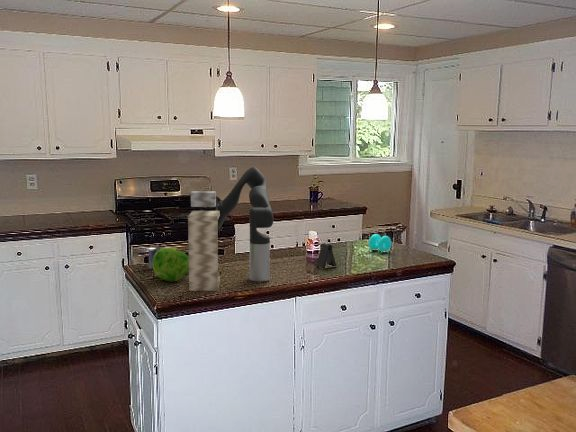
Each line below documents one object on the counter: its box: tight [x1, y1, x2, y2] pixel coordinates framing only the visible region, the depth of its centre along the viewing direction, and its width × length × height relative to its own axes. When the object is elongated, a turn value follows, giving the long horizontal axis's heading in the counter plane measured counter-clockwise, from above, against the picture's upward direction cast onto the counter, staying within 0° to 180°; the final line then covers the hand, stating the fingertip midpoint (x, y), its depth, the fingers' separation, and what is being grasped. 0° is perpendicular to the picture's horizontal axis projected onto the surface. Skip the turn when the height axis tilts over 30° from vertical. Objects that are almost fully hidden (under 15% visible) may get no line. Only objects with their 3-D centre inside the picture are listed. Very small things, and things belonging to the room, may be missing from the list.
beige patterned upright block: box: [187, 210, 221, 292], centre depth 232 cm, size 12×16×32 cm
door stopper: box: [315, 242, 337, 268], centre depth 270 cm, size 9×6×12 cm, turn 120°
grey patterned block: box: [190, 190, 217, 208], centre depth 234 cm, size 10×23×6 cm, turn 4°
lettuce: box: [152, 247, 189, 282], centre depth 242 cm, size 17×20×15 cm
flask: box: [148, 244, 167, 270], centre depth 264 cm, size 10×3×12 cm, turn 133°
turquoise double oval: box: [368, 233, 392, 252], centre depth 308 cm, size 10×10×10 cm
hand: (206, 195), depth 240 cm, fingers closed on grey patterned block, 3 cm apart
